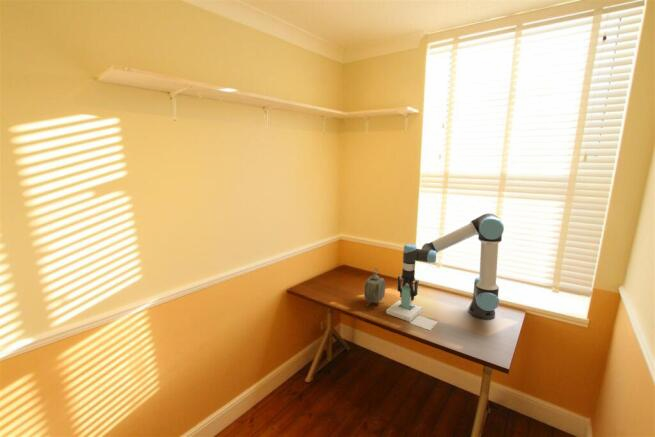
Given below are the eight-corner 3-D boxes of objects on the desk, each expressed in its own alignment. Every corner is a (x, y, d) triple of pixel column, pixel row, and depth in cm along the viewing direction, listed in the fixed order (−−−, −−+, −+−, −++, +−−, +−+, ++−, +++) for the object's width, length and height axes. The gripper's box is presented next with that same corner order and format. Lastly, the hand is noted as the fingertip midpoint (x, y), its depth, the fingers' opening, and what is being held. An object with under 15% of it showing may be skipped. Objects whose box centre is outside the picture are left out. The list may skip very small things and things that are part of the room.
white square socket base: (422, 310, 201) (422, 306, 201) (410, 321, 188) (410, 316, 187) (399, 303, 211) (399, 299, 211) (386, 313, 198) (386, 308, 197)
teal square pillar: (412, 309, 202) (413, 286, 199) (408, 312, 198) (409, 288, 195) (404, 306, 206) (405, 283, 203) (400, 310, 202) (401, 286, 199)
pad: (437, 322, 187) (437, 321, 187) (429, 330, 178) (429, 330, 178) (418, 316, 195) (418, 315, 195) (410, 323, 186) (410, 323, 186)
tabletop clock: (372, 298, 218) (373, 264, 213) (384, 301, 214) (386, 266, 209) (363, 306, 206) (365, 270, 201) (376, 310, 201) (378, 273, 197)
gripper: (425, 270, 194) (422, 305, 198) (398, 264, 205) (396, 297, 210) (419, 274, 188) (417, 310, 193) (392, 267, 200) (391, 301, 204)
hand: (406, 303), depth 201 cm, fingers closed on teal square pillar, 5 cm apart
